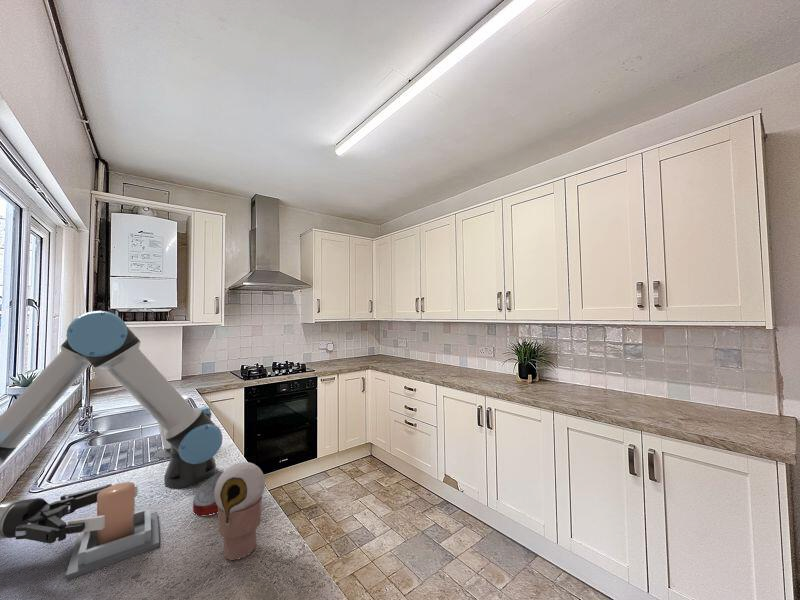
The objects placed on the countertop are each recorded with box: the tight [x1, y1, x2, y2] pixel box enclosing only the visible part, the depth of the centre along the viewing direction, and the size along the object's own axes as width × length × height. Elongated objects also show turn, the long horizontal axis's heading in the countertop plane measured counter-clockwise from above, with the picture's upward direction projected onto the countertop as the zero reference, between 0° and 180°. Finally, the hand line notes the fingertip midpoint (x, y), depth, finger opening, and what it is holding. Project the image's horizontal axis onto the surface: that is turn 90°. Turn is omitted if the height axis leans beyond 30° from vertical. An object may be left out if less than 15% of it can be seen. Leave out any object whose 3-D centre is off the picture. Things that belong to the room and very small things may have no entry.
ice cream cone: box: [214, 461, 266, 561], centre depth 78 cm, size 11×11×20 cm
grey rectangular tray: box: [65, 507, 160, 581], centre depth 81 cm, size 16×16×4 cm
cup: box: [153, 395, 189, 459], centre depth 136 cm, size 12×12×22 cm
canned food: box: [192, 471, 224, 515], centre depth 96 cm, size 11×10×10 cm
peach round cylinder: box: [96, 481, 136, 546], centre depth 81 cm, size 7×7×12 cm
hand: (121, 505), depth 81 cm, fingers open, 13 cm apart
